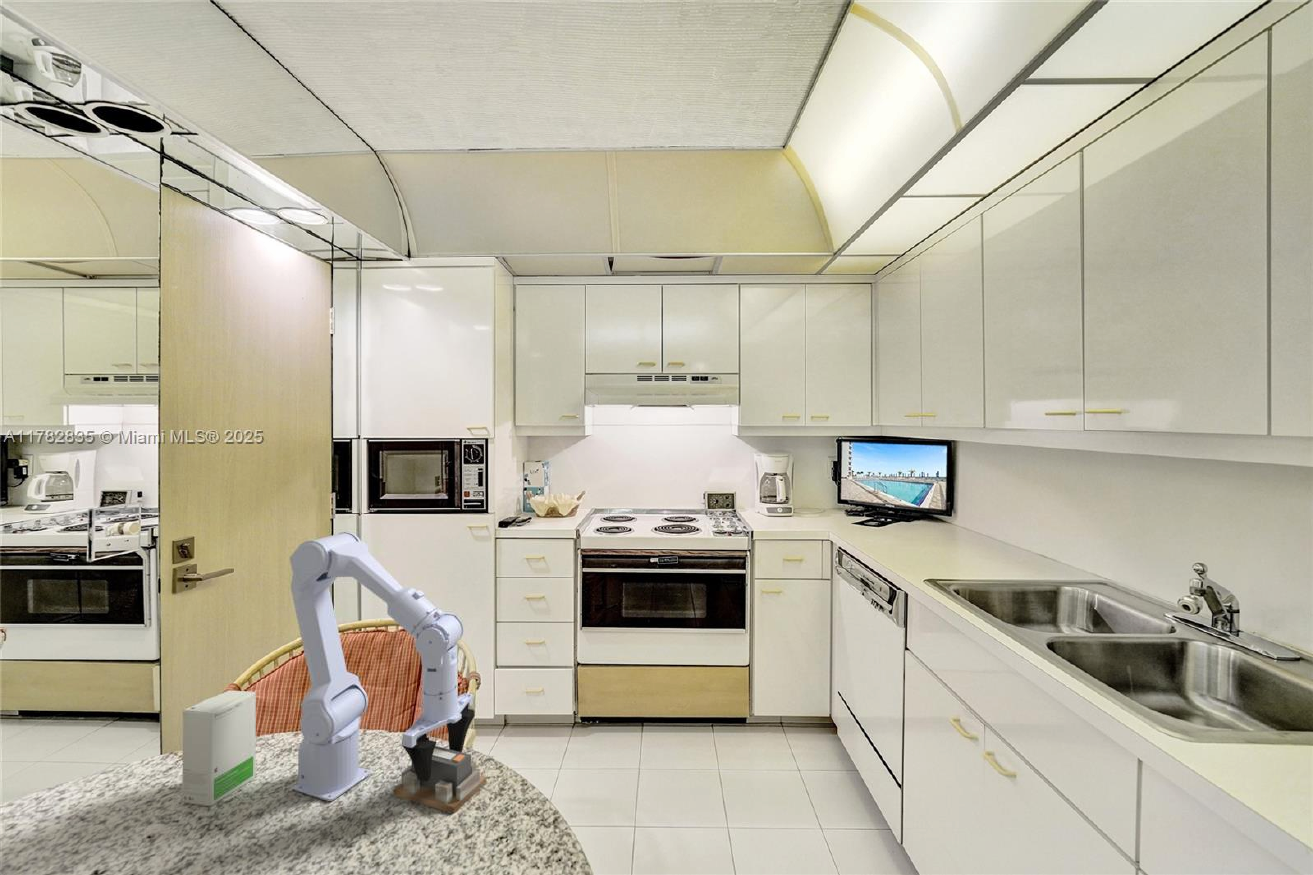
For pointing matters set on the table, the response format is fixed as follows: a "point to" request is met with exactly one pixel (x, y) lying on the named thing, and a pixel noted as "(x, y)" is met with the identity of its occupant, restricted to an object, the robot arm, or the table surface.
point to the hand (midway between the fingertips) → (440, 765)
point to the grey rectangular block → (448, 768)
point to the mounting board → (439, 790)
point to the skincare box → (218, 747)
